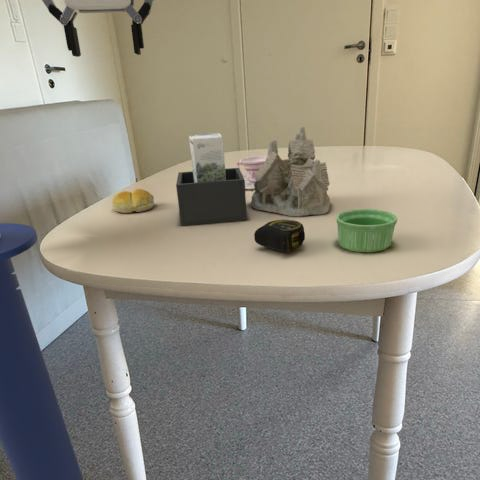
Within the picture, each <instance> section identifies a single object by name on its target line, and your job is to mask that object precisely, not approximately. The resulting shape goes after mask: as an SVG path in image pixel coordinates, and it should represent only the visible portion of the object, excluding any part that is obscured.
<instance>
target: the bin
mask: <svg viewBox="0 0 480 480" xmlns="http://www.w3.org/2000/svg"><path fill="white" fill-rule="evenodd" d="M239 168H240V167H239ZM239 168H237V167H231V168H225V175H226V180H223V181H210V182H198V183H194V178H193V170H191V171H180V172H179V171H178V174H177V178H176V184H175V187H176V195H177V203H178V211H179V218H180V226H193V225H205V224H216V223H217V224H218V223H228V222H239V221H247V220H248V217H247V216H248V215H247V199H246V197H247V196H246V189H245V180H244V179H245V177H243V176H242V174H241V172H242V171H241V168H240V169H239Z"/></svg>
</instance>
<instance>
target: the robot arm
mask: <svg viewBox="0 0 480 480" xmlns="http://www.w3.org/2000/svg"><path fill="white" fill-rule="evenodd" d="M41 1H42V2H43V4H44V6H45V7H46V9H47V10H48V12H49V13H50V15H52V16H53V18H55V19H56V20H57V21H58V22H59V23H60V24H61V25H62V26H63V31H64V35H65V36H64V37H65V42H66V48H67V51H69V52H71V55H72V56H73V57H77V58H79V57H81V56H82V53H81V47H80V40H79V35H78V29H77V28H76V26H75V25H74V22H75V20H76V19H77V17H78V14H113V13H127V15H128V16H129V17H130V18H131V19H132V20H131V22H132V23H131V25H130V28H131V37H132V44H133V45H132V46H133V52H134V54H135V55H138V56H141V55H142V52H141V51H142V50H143V49H145V43H144V37H143V36H144V35H143V27H142V26H143V24H144V22H145V20H146V19H147V18H148V16H149V15H150V13H151V12H152V9H153V5H154V3H155V0H144V1H143V4H142V5H141V7H140V8H139V9H138V11H137V10H136V9H135V0H63V2H64V5H65V8H64V9H63V11H62V10H61V9H60V8H59V7H58V6H57V5H56V3H55V1H54V0H41ZM141 49H142V50H141ZM0 238H1V235H0Z"/></svg>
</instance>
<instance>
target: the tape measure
mask: <svg viewBox="0 0 480 480" xmlns="http://www.w3.org/2000/svg"><path fill="white" fill-rule="evenodd" d="M253 237H254V242H255V243H256V244H257V245H259V246H262V247H264V248H268V249H272V250H273V251H278V252H282V253H288V252H290V251H291V250H294V249H298V248H300V247H301V246H302V245H303V243H304V242H305V239H306V233H305V227H304V224H303V223H302V222H300V221H297V220H293V219H276V220H271V221H268V222H266V223H265V224H264V225H262V226H260V227H259V228H257V229H256V230H255V231H254V233H253Z"/></svg>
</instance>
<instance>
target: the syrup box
mask: <svg viewBox="0 0 480 480" xmlns="http://www.w3.org/2000/svg"><path fill="white" fill-rule="evenodd" d="M188 139H189V140H188V141H189V149H190V158H191V169H192V171H193V178H194V183H198V182H210V181H223V180H226V175H225V169H226V161H225V159H226V158H225V146H224V136H222V134H221V133H219V132H212V133H211V132H210V133H200V134H191V135H190V134H189V136H188Z"/></svg>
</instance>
